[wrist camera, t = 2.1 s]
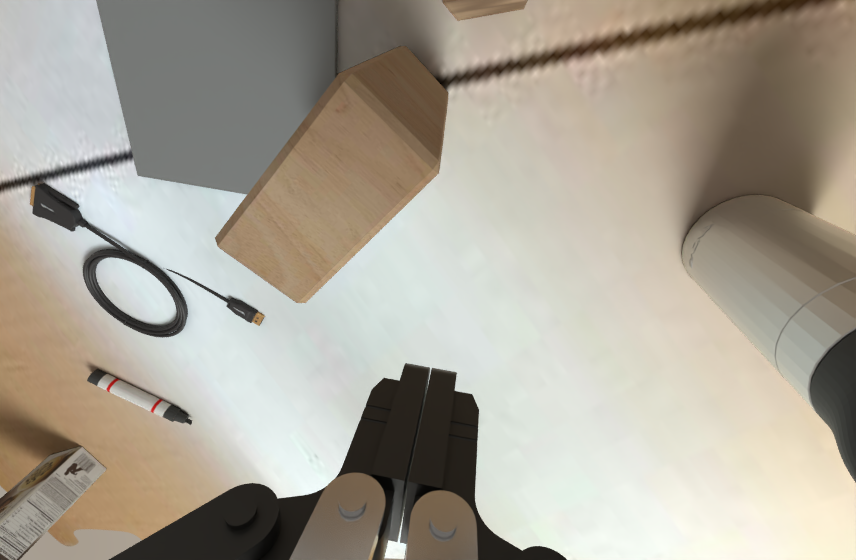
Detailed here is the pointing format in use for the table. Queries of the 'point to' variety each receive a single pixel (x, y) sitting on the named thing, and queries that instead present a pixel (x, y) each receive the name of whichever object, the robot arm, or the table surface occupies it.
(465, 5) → the walnut block
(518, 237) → the table surface
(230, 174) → the mat
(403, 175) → the decorative block
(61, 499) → the coffee box
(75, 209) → the cable
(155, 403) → the marker
